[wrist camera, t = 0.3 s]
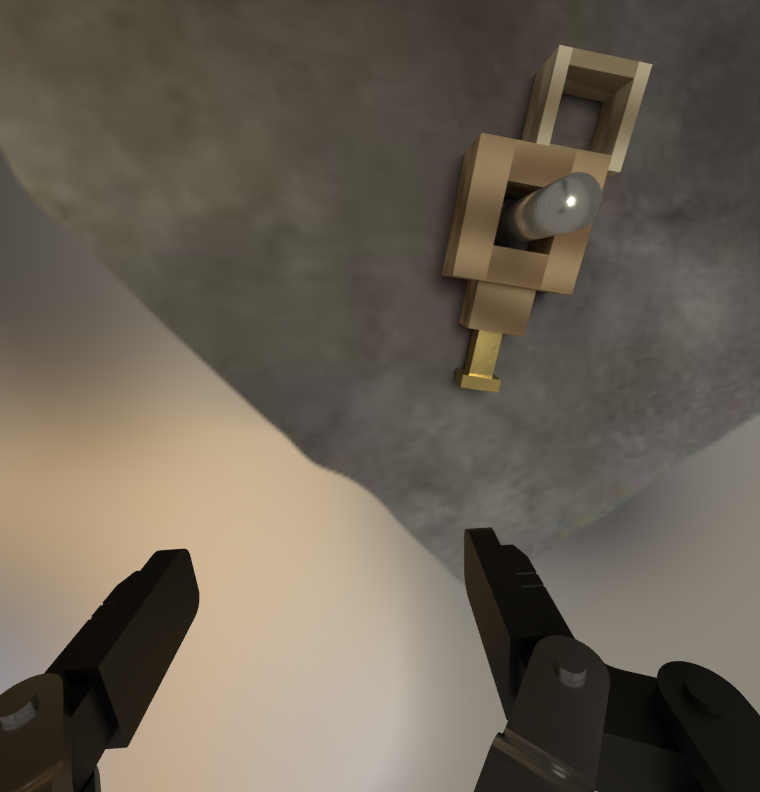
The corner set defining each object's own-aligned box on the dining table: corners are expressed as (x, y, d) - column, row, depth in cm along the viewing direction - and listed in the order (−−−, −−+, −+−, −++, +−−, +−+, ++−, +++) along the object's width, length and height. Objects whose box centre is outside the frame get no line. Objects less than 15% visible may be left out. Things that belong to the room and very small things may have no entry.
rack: (536, 73, 31) (559, 44, 27) (618, 90, 32) (652, 64, 28) (514, 169, 33) (533, 155, 29) (591, 184, 34) (620, 172, 30)
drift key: (472, 295, 36) (480, 297, 33) (509, 301, 36) (520, 303, 34) (454, 379, 38) (460, 387, 36) (489, 384, 39) (498, 392, 36)
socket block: (464, 153, 33) (481, 132, 28) (576, 174, 33) (611, 157, 29) (433, 319, 37) (442, 325, 32) (533, 334, 37) (557, 343, 33)
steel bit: (493, 204, 34) (557, 167, 22) (528, 210, 34) (609, 177, 23) (485, 242, 35) (542, 226, 23) (519, 248, 35) (592, 235, 24)
